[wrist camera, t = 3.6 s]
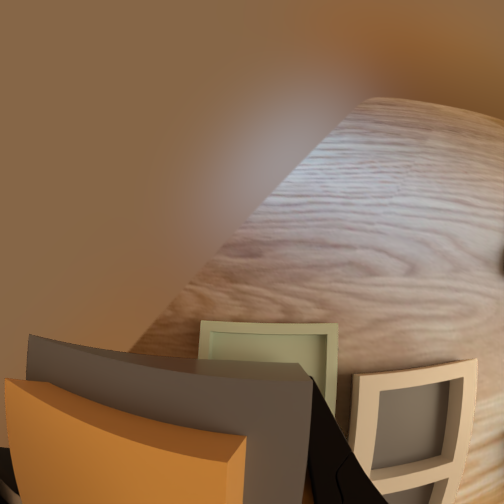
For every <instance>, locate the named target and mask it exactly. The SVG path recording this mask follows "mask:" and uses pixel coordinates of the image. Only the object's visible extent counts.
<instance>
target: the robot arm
mask: <svg viewBox="0 0 504 504" xmlns="http://www.w3.org/2000/svg"><path fill="white" fill-rule="evenodd" d="M309 377H310V378H311V379H312V380H313V391H312V408H311V422H310V434H309V445H308V456H307V465H306V474H305V482H304V490H303V497H302V504H389V503H388V502H387V501H386V500H385V498H384V497H383V496H382V494H381V493H380V492H379V491H378V489H377V488H376V487H375V486H374V484H373V483H372V482H371V480H370V479H369V477H368V476H367V475H366V473H365V472H364V470H363V468H362V467H361V465H360V463H359V462H358V460H357V458H356V456H355V454H354V453H353V452H352V449H351V447H350V445H349V443H348V442H347V440H346V438H345V436H344V434H343V432H342V430H341V429H340V427H339V425H338V423H337V421H336V419H335V417H334V416H333V414H332V412H331V410H330V408H329V406H328V404H327V403H326V401H325V399H324V397H323V395H322V393H321V391H320V389H319V388H318V386H317V384H316V382H315V380H314V378H313V377H312V376H309ZM0 504H22V501H21V497H20V494H19V490H18V486H17V483H16V478H15V474H14V469H13V464H12V459H11V453H10V448H3V447H0Z"/></svg>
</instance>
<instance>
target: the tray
mask: <svg viewBox="0 0 504 504" xmlns="http://www.w3.org/2000/svg"><path fill="white" fill-rule="evenodd" d="M198 359H212V360H238V361H255V362H283V363H299V364H300V365H301V367H302V368H303V369H304V370H305V372H306V373H307V374H308V375H309V376H312V377H313V378H314V380H315V382H316V384H317V386H318V388H319V389H320V391H321V393H322V395H323V397H324V399H325V401H326V403H327V404H328V406H329V408H330V410H331V412H332V414H333V416H334V417H335V407H336V391H337V367H338V323H315V324H286V323H244V322H222V321H205V320H201V325H200V338H199V351H198Z"/></svg>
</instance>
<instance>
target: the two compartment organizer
mask: <svg viewBox="0 0 504 504" xmlns="http://www.w3.org/2000/svg"><path fill="white" fill-rule="evenodd" d="M477 369H478V358H477V359H466V360H458V361H453V362H447V363H442V364H436V365H430V366H424V367H417V368H409V369H401V370H392V371H383V372H371V373H357V374H352V381H351V400H350V414H349V426H348V436H347V442H348V443H349V445H350V447H351V449H352V452H353V453H354V454H355V456H356V458H357V460H358V462H359V463H360V465H361V467H362V468H363V470H364V472H365V473H366V475H367V476H368V477H369V479H370V480H371V482H372V483H373V484H374V486H375V487H376V488H377V489H378V491H379V492H380V493H381V494H382V496H383V497H384V498H385V500H386V501H387V502H388V503H389V504H454V501H455V498H456V495H457V492H458V489H459V485H460V482H461V478H462V475H463V471H464V467H465V463H466V459H467V454H468V449H469V444H470V439H471V433H472V427H473V420H474V412H475V402H476V390H477Z"/></svg>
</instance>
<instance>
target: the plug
mask: <svg viewBox="0 0 504 504" xmlns="http://www.w3.org/2000/svg"><path fill="white" fill-rule="evenodd" d="M312 391H313V380H312V379H311V378H310V377H309V375H308V374H307V373H306V372H305V370H304V369H303V368H302V367H301V365H300V364H299V363H283V362H255V361H238V360H212V359H191V358H176V357H164V356H153V355H143V354H135V353H127V352H119V351H112V350H105V349H99V348H93V347H87V346H81V345H76V344H71V343H66V342H61V341H56V340H52V339H48V338H43V337H39V336H35V335H31V334H29V341H28V352H27V370H26V380H18V379H9V378H5V406H6V421H7V431H8V439H9V447H10V453H11V459H12V464H13V469H14V474H15V478H16V483H17V486H18V490H19V494H20V497H21V501H22V504H302V497H303V490H304V482H305V474H306V465H307V456H308V445H309V434H310V422H311V408H312Z"/></svg>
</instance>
